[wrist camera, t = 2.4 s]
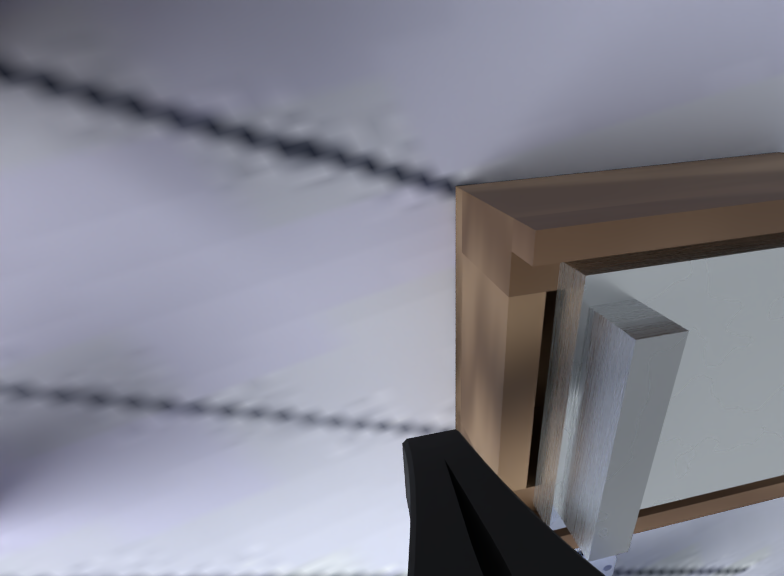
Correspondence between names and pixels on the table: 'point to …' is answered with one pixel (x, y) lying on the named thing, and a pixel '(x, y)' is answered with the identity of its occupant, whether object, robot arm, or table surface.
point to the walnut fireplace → (540, 283)
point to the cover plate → (660, 384)
